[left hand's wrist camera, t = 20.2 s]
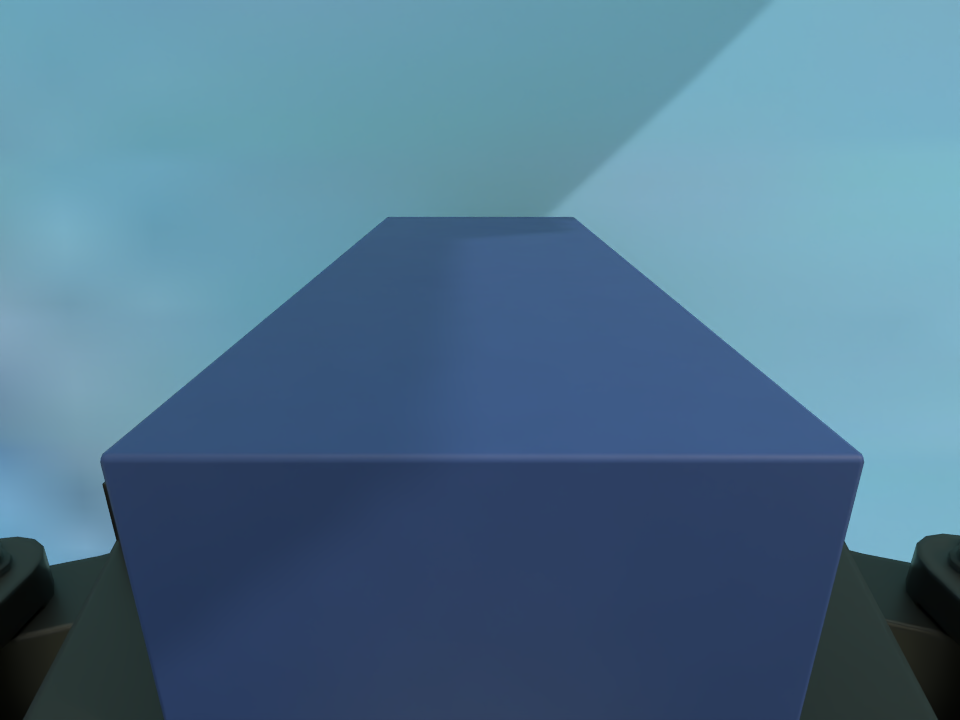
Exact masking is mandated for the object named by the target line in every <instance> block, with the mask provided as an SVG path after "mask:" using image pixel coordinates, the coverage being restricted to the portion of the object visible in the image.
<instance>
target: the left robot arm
mask: <svg viewBox="0 0 960 720" xmlns="http://www.w3.org/2000/svg"><path fill="white" fill-rule="evenodd" d="M103 488H104V492H105V496H106V500H107V504H108V508H109V512H110V516H111V520H112V524H113V528H114V532H115V536H116V542H115V544H114V546H113V548H112V550H111V552H110V553H109V554H105V555H101V556H97V557H92V558H87V559H82V560H76V561H71V562H66V563H61V564H56V565H51V566H49V563H48V560H47V556H46V553H45V550H44V546H42V545H41V544H40V543H39V542H37V541H36V540H35V539H30V538H23V537H10V538H1V539H0V720H164V717H163V713H162V709H161V705H160V701H159V697H158V693H157V689H156V685H155V680H154V676H153V672H152V668H151V664H150V660H149V656H148V652H147V648H146V644H145V640H144V636H143V632H142V628H141V624H140V620H139V616H138V612H137V608H136V604H135V600H134V596H133V592H132V588H131V584H130V580H129V576H128V572H127V568H126V563H125V559H124V555H123V551H122V547H121V543H120V539H119V535H118V531H117V527H116V523H115V519H114V515H113V511H112V507H111V503H110V499H109V495H108V491H107V487H106V483H105V482H104V483H103ZM799 720H960V536H959V535H950V534H938V535H931V536H926V537H924V538H923V539H922V540H920V541H919V542H918V543H917V544H916V548H915V551H914V554H913V558H912V561H911V563H908V562H903V561H898V560H893V559H888V558H882V557H877V556H872V555H867V554H862V553H858V552H854V551H850V550H849V549H848V547H847V545H846V543H845V541H844V544H843V548H842V552H841V556H840V560H839V564H838V568H837V572H836V576H835V580H834V584H833V588H832V592H831V596H830V600H829V604H828V608H827V612H826V616H825V620H824V624H823V628H822V632H821V636H820V640H819V644H818V648H817V652H816V655H815V659H814V663H813V667H812V671H811V675H810V679H809V683H808V687H807V691H806V695H805V699H804V703H803V707H802V711H801V715H800V719H799Z"/></svg>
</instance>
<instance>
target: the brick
mask: <svg viewBox="0 0 960 720" xmlns="http://www.w3.org/2000/svg"><path fill="white" fill-rule="evenodd" d="M100 463H101V467H102V471H103V475H104V479H105V483H106V487H107V491H108V495H109V499H110V503H111V507H112V511H113V515H114V519H115V523H116V527H117V531H118V535H119V539H120V543H121V547H122V551H123V555H124V559H125V563H126V568H127V572H128V576H129V580H130V584H131V588H132V592H133V596H134V600H135V604H136V608H137V612H138V616H139V620H140V624H141V628H142V632H143V636H144V640H145V644H146V648H147V652H148V656H149V660H150V664H151V668H152V672H153V676H154V680H155V685H156V689H157V693H158V697H159V701H160V705H161V709H162V713H163V717H164V720H799V719H800V715H801V711H802V707H803V703H804V699H805V695H806V691H807V687H808V683H809V679H810V675H811V671H812V667H813V663H814V659H815V655H816V652H817V648H818V644H819V640H820V636H821V632H822V628H823V624H824V620H825V616H826V612H827V608H828V604H829V600H830V596H831V592H832V588H833V584H834V580H835V576H836V572H837V568H838V564H839V560H840V556H841V552H842V548H843V544H844V540H845V536H846V532H847V528H848V524H849V520H850V516H851V512H852V508H853V504H854V500H855V496H856V492H857V488H858V484H859V480H860V476H861V472H862V468H863V464H864V459H863V456H862V454H861V453H860V452H858V451H857V450H856V449H855V448H854V447H852V446H851V445H850V444H849V443H848V442H846V441H845V440H844V439H843V438H841V437H840V436H839V435H838V434H837V433H835V432H834V431H833V430H832V429H830V428H829V427H828V426H827V425H826V424H824V423H823V422H822V421H821V420H820V419H818V418H817V417H816V416H815V415H813V414H812V413H811V412H810V411H809V410H807V409H806V408H805V407H804V406H803V405H801V404H800V403H799V402H798V401H796V400H795V399H794V398H793V397H792V396H790V395H789V394H788V393H787V392H785V391H784V390H783V389H782V388H781V387H779V386H778V385H777V384H776V383H775V382H773V381H772V380H771V379H770V378H768V377H767V376H766V375H765V374H764V373H762V372H761V371H760V370H759V369H758V368H756V367H755V366H754V365H753V364H751V363H750V362H749V361H748V360H747V359H745V358H744V357H743V356H742V355H740V354H739V353H738V352H737V351H736V350H734V349H733V348H732V347H731V346H730V345H728V344H727V343H726V342H725V341H723V340H722V339H721V338H720V337H719V336H717V335H716V334H715V333H714V332H712V331H711V330H710V329H709V328H708V327H706V326H705V325H704V324H703V323H702V322H700V321H699V320H698V319H697V318H695V317H694V316H693V315H692V314H691V313H689V312H688V311H687V310H686V309H685V308H683V307H682V306H681V305H680V304H678V303H677V302H676V301H675V300H674V299H672V298H671V297H670V296H669V295H667V294H666V293H665V292H664V291H663V290H661V289H660V288H659V287H658V286H657V285H655V284H654V283H653V282H652V281H650V280H649V279H648V278H647V277H646V276H644V275H643V274H642V273H641V272H640V271H638V270H637V269H636V268H635V267H633V266H632V265H631V264H630V263H629V262H627V261H626V260H625V259H624V258H622V257H621V256H620V255H619V254H618V253H616V252H615V251H614V250H613V249H612V248H610V247H609V246H608V245H607V244H605V243H604V242H603V241H602V240H601V239H599V238H598V237H597V236H596V235H595V234H593V233H592V232H591V231H590V230H588V229H587V228H586V227H585V226H584V225H582V224H581V223H580V222H579V221H577V220H576V219H575V218H573V217H388V218H386V219H385V220H384V221H382V222H381V223H380V224H379V225H378V226H376V227H375V228H374V229H373V230H372V231H370V232H369V233H368V234H367V235H366V236H364V237H363V238H362V239H361V240H360V241H358V242H357V243H356V244H355V245H354V246H352V247H351V248H350V249H349V250H348V251H346V252H345V253H344V254H343V255H342V256H340V257H339V258H338V259H337V260H336V261H334V262H333V263H332V264H331V265H329V266H328V267H327V268H326V269H325V270H323V271H322V272H321V273H320V274H319V275H317V276H316V277H315V278H314V279H313V280H311V281H310V282H309V283H308V284H307V285H305V286H304V287H303V288H302V289H301V290H299V291H298V292H297V293H296V294H295V295H293V296H292V297H291V298H290V299H289V300H287V301H286V302H285V303H284V304H283V305H281V306H280V307H279V308H278V309H277V310H275V311H274V312H273V313H272V314H271V315H269V316H268V317H267V318H266V319H265V320H263V321H262V322H261V323H260V324H259V325H257V326H256V327H255V328H254V329H253V330H251V331H250V332H249V333H248V334H246V335H245V336H244V337H243V338H242V339H240V340H239V341H238V342H237V343H236V344H234V345H233V346H232V347H231V348H230V349H228V350H227V351H226V352H225V353H224V354H222V355H221V356H220V357H219V358H218V359H216V360H215V361H214V362H213V363H212V364H210V365H209V366H208V367H207V368H206V369H204V370H203V371H202V372H201V373H200V374H198V375H197V376H196V377H195V378H194V379H192V380H191V381H190V382H189V383H188V384H186V385H185V386H184V387H183V388H182V389H180V390H179V391H178V392H177V393H176V394H174V395H173V396H172V397H171V398H170V399H168V400H167V401H166V402H165V403H163V404H162V405H161V406H160V407H159V408H157V409H156V410H155V411H154V412H153V413H151V414H150V415H149V416H148V417H147V418H145V419H144V420H143V421H142V422H141V423H139V424H138V425H137V426H136V427H135V428H133V429H132V430H131V431H130V432H129V433H127V434H126V435H125V436H124V437H123V438H121V439H120V440H119V441H118V442H117V443H115V444H114V445H113V446H112V447H111V448H109V449H108V450H107V451H106V452H105V453H103V454H102V457H101V462H100Z"/></svg>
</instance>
